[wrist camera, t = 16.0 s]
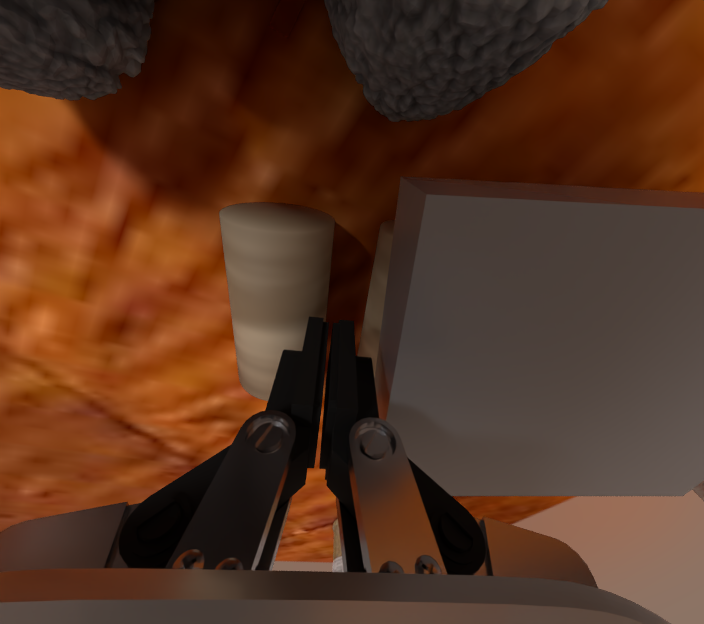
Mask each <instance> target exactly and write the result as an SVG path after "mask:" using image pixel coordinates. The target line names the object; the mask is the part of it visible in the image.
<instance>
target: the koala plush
mask: <svg viewBox="0 0 704 624" xmlns="http://www.w3.org/2000/svg"><path fill="white" fill-rule="evenodd" d="M324 2H325V7H326V9H327V10H328V16H329V18H330V23H331V25H332V33H333V36H334V38H335V40H336V41H337V43H338V46H339V48H340V50H341V54H342V55H343V57H344V58H345V60H346V63H347V66H348V68H349V69H350V71H351V72H352V73H353V74H354V75H355V78H356V81H357V83H359V84H363V94H364V96H365V98H366V99H367V100H368V102H369V103H370V104H371V105H372V106H374V108H375V110H377V111H379V113H380V114H382V115H385V116H386V117H388V119H389V120H390V121H392V122H399V121H400V120H406V121H408V122H409V121H413V120H415V121H419V120H422V119H425V120H431V119H435V118H436V117H437V116H438V115H446V114H449V113H450V112H451V111H452V110H461V109H462V108H463V107H464V106H466V105H468V104H469V103H471V102H472V101H474V100H476V99H478V98H481V97H482V96H483V95H484V94H485V93H486V92H488V91H490V90H492V89H495V88H497V87H499V86H502V85H504V84H505V83H506V82H507V81H508V80H509V79H510V78H511V77H512V76H514V75H516V74H518V73H520V72H521V71H523V70H524V69H526V68H527V67H529V66H530V65H532V64H534V63H535V62H536V61H537V60H538V59H540V58H541V57H542V55H543V54H545V53H547V52H548V51H549V50H550V48H551V46H552V43H553V42H554V41H555V40H556V39H559V38H563V37H564V36H566V34H567V33H568V32H570V31H573V29H574V28H575V27H576V26H577V25H579V24H580V23H581V22H583V21H584V20H585V19H586V18H587V17H588V16H589V14H590V13H591V12H592V10H596V9H601V8H603V7H604V5H605V4H606V3H607V2H608V0H324ZM154 6H155V4H154V0H0V87H1V88H4V89H9V90H10V89H16V90H23V91H25V92H27V93H29V94H36V95H39V96H46V97H53V98H56V99H63V100H64V98H65V99H68V100H79V99H80V98H81V97H82V96H83V97H86V98H88V99H90V100H95V99H97V98H98V97H102V96H105V95H107V94H109V93H112V94H115V93H117V89H121V88H122V86H121V83H120V80H119V75H120V74H122V73H123V72H124V73H126V74H127V75H129V76H130V77H135V76H136V75H138V74H139V73H140V72H141V63H144V62H145V55H146V54H147V41H148V40H149V39H150V34H151V27H150V24H149V22H150V19H152V18H153V14H152V13H153V12H154Z"/></svg>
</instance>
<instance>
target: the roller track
mask: <svg viewBox="0 0 704 624" xmlns="http://www.w3.org/2000/svg"><path fill="white" fill-rule="evenodd" d="M219 216H220V225H221V233H222V241H223V249H224V258H225V266H226V274H227V282H228V291H229V299H230V307H231V315H232V323H233V332H234V340H235V348H236V356H237V365H238V373H239V380H240V383H241V385H242V387H243V388H244V389H245V390H246V391H247V392H248V393H249V394H251V395H252V396H254V397H256V398H259V399H262V400H266V401H268V400H269V397H270V393H271V390H272V386H273V383H274V379H275V376H276V372H277V369H278V366H279V362H280V359H281V355H282V352H283V350H284V349H285V350H296V351H302V349H303V344H304V339H305V334H306V329H307V324H308V319H309V316H310V317H320V318H324V319H323V322H326V313H327V303H328V292H329V281H330V270H331V259H332V248H333V237H334V226H335V220H334V218H333V217H332V216H330V215H328V214H326V213H324V212H322V211H319V210H316V209H312V208H308V207H304V206H298V205H292V204H284V203H269V202H254V203H241V204H235V205H231V206H227V207H225V208H223V209H222V210H220V212H219ZM394 225H395V220H388V221H385V222H383V223H382V224H381V225H380V230H379V236H378V242H377V247H376V253H375V259H374V264H373V270H372V276H371V281H370V287H369V292H368V298H367V304H366V309H365V315H364V321H363V326H362V332H361V338H360V343H359V349H358V355H357V356H361V357H371V358H372V363H373V371H374V379H375V371H376V363H377V355H378V348H379V340H380V332H381V325H382V317H383V309H384V302H385V294H386V286H387V279H388V271H389V263H390V256H391V248H392V240H393V233H394Z"/></svg>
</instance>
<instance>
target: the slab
mask: <svg viewBox="0 0 704 624" xmlns="http://www.w3.org/2000/svg"><path fill="white" fill-rule="evenodd" d="M374 380H375V388H376V396H377V404H378V412H379V419H382V420H385V421H386V422H388V423H389V424H391V425H392V426H393V427H394V428H395V429H396V430H397V432H398V434H399V436H400V438H401V440H402V443H403V446H404V449H405V452H406V455H407V457H408V458H409V459H410V460H411V461H412V462H413V463H415V464H416V465H417V466H418V467H419V468H420V469H421V470H422V471H424V472H425V473H426V474H427V475H428V476H429V477H430V478H431V479H433V480H434V481H435V482H436V483H437V484H438V485H439V486H440V487H442V488H443V489H444V490H445V491H446V492H447V493H448V494H450V495H451V496H684V495H685V494H686V493H687V492H689V491H690V490H692V489H693V488H694V487H696V486H697V485H698V484H700V483H701V482H703V481H704V193H697V192H679V191H661V190H642V189H624V188H605V187H587V186H569V185H550V184H532V183H514V182H495V181H477V180H458V179H440V178H422V177H403V176H401V179H400V186H399V194H398V202H397V209H396V217H395V225H394V233H393V240H392V248H391V256H390V263H389V271H388V279H387V286H386V294H385V302H384V309H383V317H382V325H381V332H380V340H379V348H378V355H377V363H376V371H375V379H374Z"/></svg>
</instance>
